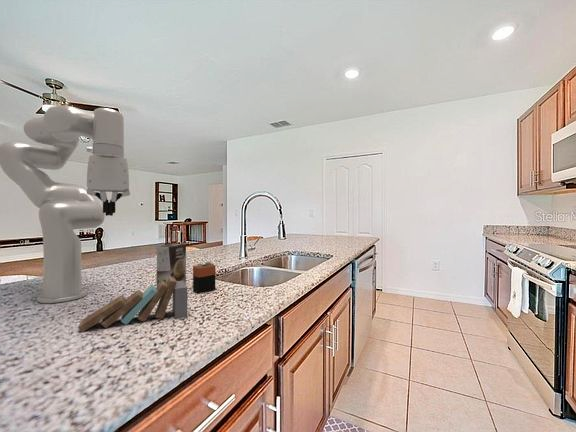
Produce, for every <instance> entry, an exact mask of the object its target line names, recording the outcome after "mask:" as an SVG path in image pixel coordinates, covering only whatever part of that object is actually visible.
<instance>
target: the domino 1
mask: <svg viewBox="0 0 576 432" xmlns="http://www.w3.org/2000/svg"><path fill="white" fill-rule="evenodd" d="M126 299H127V298H126V297H125V296H124V295H123V294H120V296H118V297H116V298H114V299H113V300H111V301H110V302H108V303H106V304H105V305H103V306H102V307H100V308H98V309H97V310H96V311H93V312H92V313H90V314H88V315H87V316H86V317H84V318H83V319H81V321H80V322H79V325H78V326H77V328H78V329H79V330H80V331H81V333H83V332H85V331H87V330H89V329H90V328H92V327H93V326H94V325H96V324H98V323H99V322H100V321H101V322H102V320H103V319H104V318H106V317H107V316H109V315H110V314H112V313H113V312H115V311H116V310H118V309H119V308H121V307H123V306H124V305H125V302H126Z"/></svg>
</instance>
